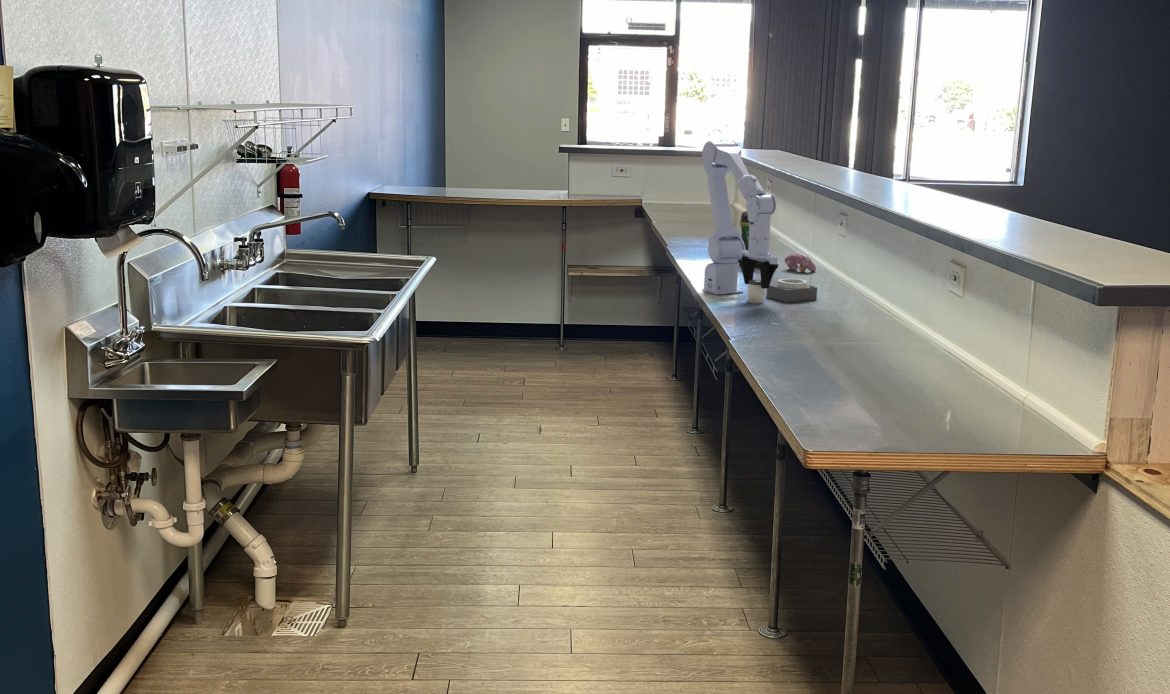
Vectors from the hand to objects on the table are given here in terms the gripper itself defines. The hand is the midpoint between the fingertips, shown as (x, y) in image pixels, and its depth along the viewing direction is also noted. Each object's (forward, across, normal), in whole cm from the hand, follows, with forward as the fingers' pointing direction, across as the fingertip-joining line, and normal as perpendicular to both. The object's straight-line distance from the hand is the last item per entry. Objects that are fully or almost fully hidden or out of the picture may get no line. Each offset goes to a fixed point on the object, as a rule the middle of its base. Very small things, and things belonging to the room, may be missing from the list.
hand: (756, 286), depth 291 cm
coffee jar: (+4, +52, -39) cm, 65 cm away
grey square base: (+4, 0, -13) cm, 14 cm away
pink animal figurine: (+5, +36, -47) cm, 59 cm away
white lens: (+5, 0, 0) cm, 5 cm away
